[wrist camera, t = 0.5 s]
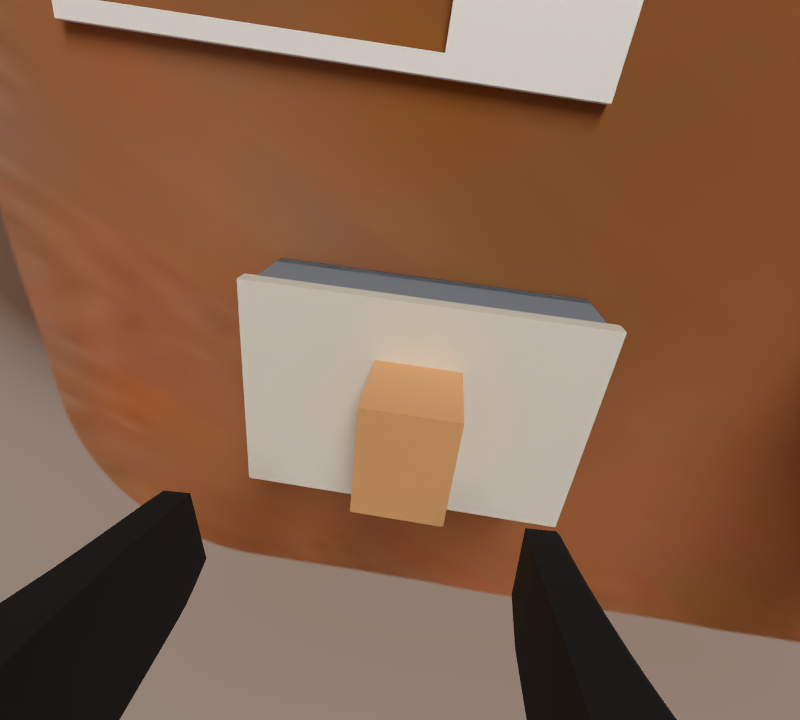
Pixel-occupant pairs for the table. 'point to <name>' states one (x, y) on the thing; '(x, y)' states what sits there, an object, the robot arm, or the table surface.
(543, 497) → the lid
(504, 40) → the photo frame
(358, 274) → the tub
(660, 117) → the table surface
